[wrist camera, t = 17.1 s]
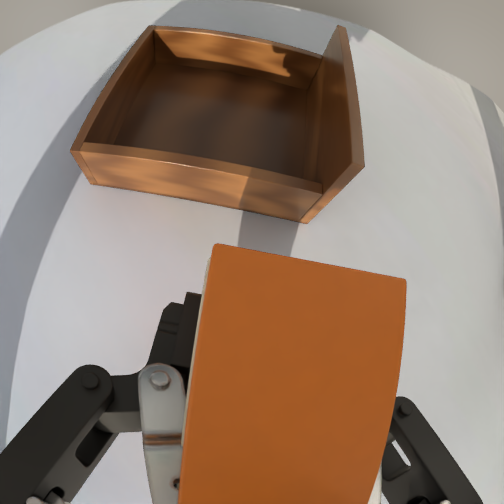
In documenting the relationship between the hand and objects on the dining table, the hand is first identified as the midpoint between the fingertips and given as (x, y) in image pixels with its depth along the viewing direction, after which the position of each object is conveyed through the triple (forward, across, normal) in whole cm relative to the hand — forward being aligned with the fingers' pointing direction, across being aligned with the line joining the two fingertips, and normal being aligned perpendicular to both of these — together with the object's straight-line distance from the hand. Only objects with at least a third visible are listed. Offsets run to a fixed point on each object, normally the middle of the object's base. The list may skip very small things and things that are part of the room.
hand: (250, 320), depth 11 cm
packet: (+3, 0, +6) cm, 6 cm away
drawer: (+17, +4, -6) cm, 19 cm away
